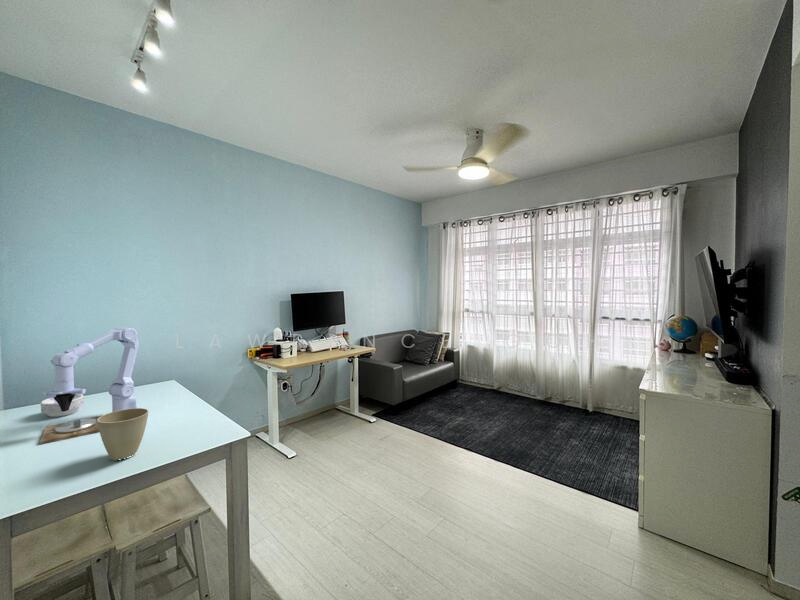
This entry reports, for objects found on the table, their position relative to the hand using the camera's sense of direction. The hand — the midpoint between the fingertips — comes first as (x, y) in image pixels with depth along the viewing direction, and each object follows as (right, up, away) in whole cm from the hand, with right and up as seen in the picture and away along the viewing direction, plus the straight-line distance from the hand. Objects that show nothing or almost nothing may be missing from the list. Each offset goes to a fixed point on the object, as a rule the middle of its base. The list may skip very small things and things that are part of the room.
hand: (65, 410), depth 143 cm
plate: (+2, -10, +3) cm, 10 cm away
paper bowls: (-24, -9, +22) cm, 34 cm away
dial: (+2, -9, +3) cm, 9 cm away
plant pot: (+42, -11, -19) cm, 48 cm away
